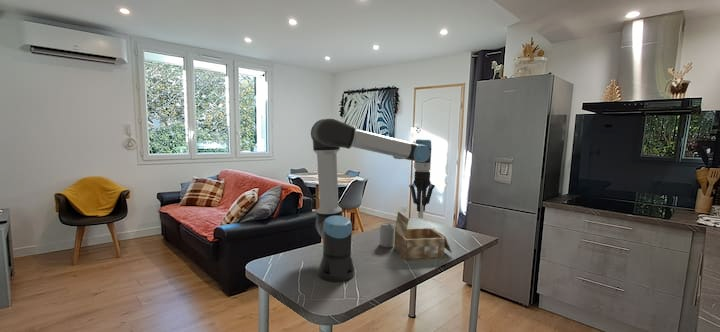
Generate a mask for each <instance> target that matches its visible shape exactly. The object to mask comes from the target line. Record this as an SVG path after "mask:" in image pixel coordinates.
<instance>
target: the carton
mask: <svg viewBox="0 0 720 332" xmlns="http://www.w3.org/2000/svg"><path fill="white" fill-rule="evenodd" d="M433 229H434V228H433ZM433 229H432V228H430V227H428V228H427V227H425V228H424V227H423V228H422V227H421V228H419V227H417V228H407V230H406V235H405V238H404V237H403V236H402V235H401V234H400V233H399V232H398V231H396V230H395V229H394V245H393V246H394V250H395V251H396V252H397V253H398V254H399V255H400V256H401V258H402V259H403V260H404V261H411V260H412V261H414V260H432V259H444V258H445V248H444V246H445V238H444V237H443V236H441V235H440V234H439V233H440V232H439V233H437V232H436V231H437V230H436V231H434V230H433Z"/></svg>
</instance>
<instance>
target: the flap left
mask: <svg viewBox="0 0 720 332" xmlns="http://www.w3.org/2000/svg"><path fill="white" fill-rule="evenodd" d="M409 220H410V219H409V218H408V217H407V216H406V215H404V214H403V213H401V211H398V212H397V216H396V220H395V221H396V222H395V224H394V225H395V226H394V231H395V230H396V231H398V232H399V233H400V234H401V235H402V236H403V237H404V238H405V235H406V230H407V229H408V224H409Z"/></svg>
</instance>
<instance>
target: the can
mask: <svg viewBox="0 0 720 332" xmlns="http://www.w3.org/2000/svg"><path fill="white" fill-rule="evenodd" d="M394 242H395V226H394V223H392V222H387V221H386V222H381V225H380V226H379V245H380V247H382V248H392V247H393V246H394Z"/></svg>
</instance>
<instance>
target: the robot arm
mask: <svg viewBox="0 0 720 332" xmlns="http://www.w3.org/2000/svg"><path fill="white" fill-rule="evenodd" d="M310 136H311V137H310V138H311V140H312V148H313V152H314V153H316V156H317V157H316V160H317V162H316V163H317V179H318V181H317V182H318V183H317V184H318V197H319V198H318V199H319V202H318V203H319V207H318V208H317V209H316V218H315V225H314V226H315V229H316V231H317V233H318V235H319V236H320V237H321V239H322V241H323V242H322V243H323V246H322V249H323V250H322V258H321V260H320V264H319V267H318V274H319V275H318V276H319V277H320V279H322V280H324V281H327V282H334V283H335V282H338V283H339V282H344V281H348V280H351V279H353V278H354V276H355V266H354V263H353V258H352V232H353V225H352V221H351V220H350V219H349V217H346V216H343V208H342V207H341V206H340V204H339V185H338V184H339V182H338V180H339V179H338V158H337V156H338V155H337V154H338V153H339V151H340V149H341V148H343V149H344V148H345V149H351V148H354V149H355V148H356V149H360V150H365V151H367V152H368V151H369V152H372V153H373V152H374V153H378V154H382V155H387V156H390V157H393V159H394V160H395V159H396V160H407V161H414V170H415V171H414V176H413V177H414V181H412V182H413V183H412V184H409V185H408V187H409V189H410V192H411V197H412V202H413V204H415V205H416V211H417V218H419V219H424V212H426V206H427V205H429V204H430V201H431V199H432V198H431V197H432V194H433V189H434V188H435V184H432V183H431V180H430V179H431V164H432V163H431V161H432V159H431V158H432V140H430V139H425V138H424V139H421V138H420V139H419V138H418V139H415V143H414V142H411V141H410V142H409V141H407V140H402V139H398V138H394V137H390V136H385V135H383V134H378V133H374V132H370V131H366V130H361V129H358V128H356V126H355V125H353V124H348V123H345V122H342V121H340V120H338V119H335V118H323V119H319V120H318V121H316V122H315V123H314V124H313V125H312V127H311V128H310ZM415 188H416V189H415Z"/></svg>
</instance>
